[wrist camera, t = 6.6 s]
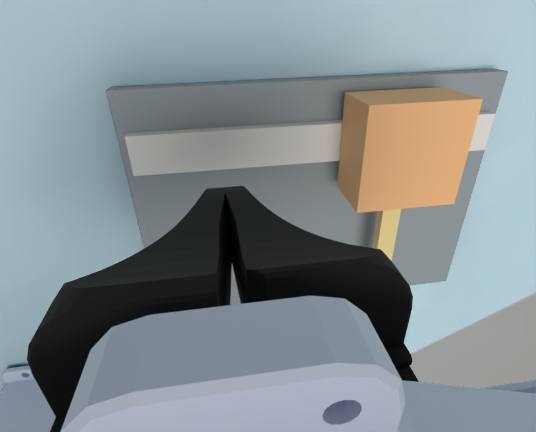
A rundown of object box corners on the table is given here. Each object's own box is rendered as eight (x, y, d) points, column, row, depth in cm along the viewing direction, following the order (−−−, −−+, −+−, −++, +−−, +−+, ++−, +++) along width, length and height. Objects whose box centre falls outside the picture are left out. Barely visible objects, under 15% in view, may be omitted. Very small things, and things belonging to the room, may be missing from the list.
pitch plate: (162, 303, 24) (157, 332, 21) (111, 86, 17) (96, 96, 14) (438, 272, 26) (458, 295, 24) (494, 68, 19) (530, 75, 17)
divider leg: (327, 289, 23) (343, 325, 20) (343, 91, 17) (369, 105, 14) (399, 280, 24) (424, 314, 21) (440, 86, 17) (483, 98, 15)
